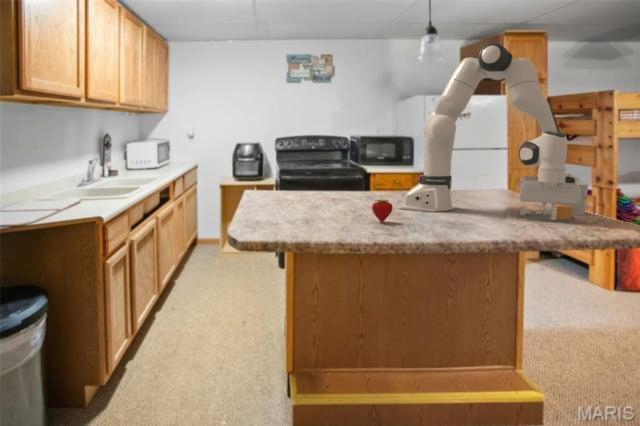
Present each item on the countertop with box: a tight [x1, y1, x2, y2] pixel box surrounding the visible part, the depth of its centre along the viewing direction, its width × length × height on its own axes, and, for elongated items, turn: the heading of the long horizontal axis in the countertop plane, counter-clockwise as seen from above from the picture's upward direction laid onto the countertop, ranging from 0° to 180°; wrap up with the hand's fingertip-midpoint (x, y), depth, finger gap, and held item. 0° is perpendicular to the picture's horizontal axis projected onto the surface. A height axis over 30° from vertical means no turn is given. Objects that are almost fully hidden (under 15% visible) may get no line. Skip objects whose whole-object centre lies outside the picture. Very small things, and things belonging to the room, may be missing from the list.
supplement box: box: [562, 182, 589, 216], centre depth 193 cm, size 7×7×13 cm
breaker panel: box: [516, 210, 579, 225], centre depth 182 cm, size 20×16×2 cm
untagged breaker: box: [519, 205, 526, 216], centre depth 187 cm, size 2×2×4 cm
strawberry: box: [371, 195, 393, 223], centre depth 178 cm, size 6×8×10 cm
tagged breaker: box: [551, 209, 557, 220], centre depth 178 cm, size 2×2×4 cm
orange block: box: [555, 204, 573, 219], centre depth 182 cm, size 5×5×4 cm
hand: (547, 215), depth 179 cm, fingers closed
